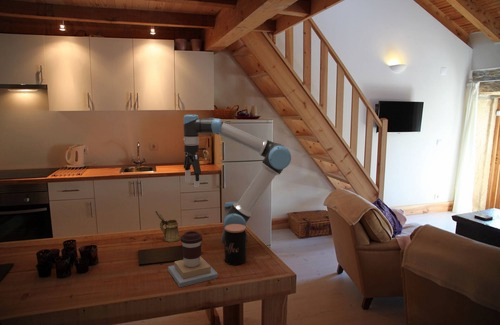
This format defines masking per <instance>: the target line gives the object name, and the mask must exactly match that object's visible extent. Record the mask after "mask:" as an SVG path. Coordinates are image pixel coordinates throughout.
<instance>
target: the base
mask: <svg viewBox="0 0 500 325" xmlns="http://www.w3.org/2000/svg"><path fill="white" fill-rule="evenodd" d="M173 264H174V265H169V266H167V271H168V272H169V274H170V276H171V277H172V278H173V280H174V281H175V283H176V284H177V286H178V287H179V288H184V287H186V286H187V287H188V286H191V285H195V284H199V283H202V282H203V283H204V282H207V281H210V280H211V281H213V280H215V279H218V278H219V274H218V272H217V271H216V270H215V269H214V268H213V267H212V266H211V265H210V264H209V262H207V261H206V260H205V259H204V258H203V257H202V256H200V264H199V265H198V266H196V267H187V266H185V265H184V259H180V260H176V261H174V263H173Z"/></svg>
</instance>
